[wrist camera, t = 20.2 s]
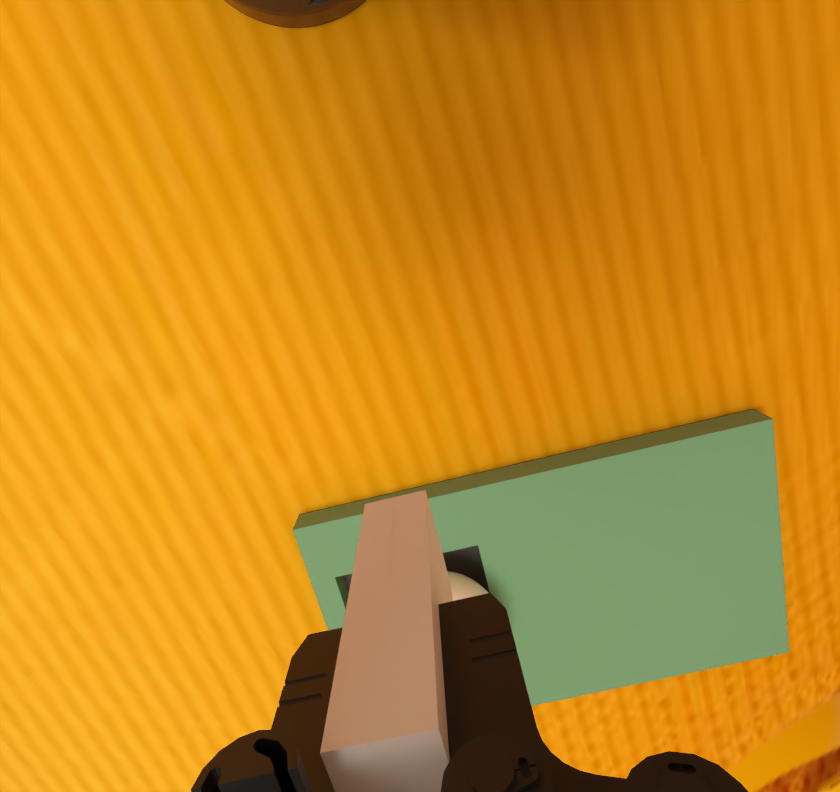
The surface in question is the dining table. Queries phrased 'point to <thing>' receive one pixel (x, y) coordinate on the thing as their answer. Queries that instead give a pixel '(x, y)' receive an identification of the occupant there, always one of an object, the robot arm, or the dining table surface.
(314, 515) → the putting board
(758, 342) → the dining table surface
